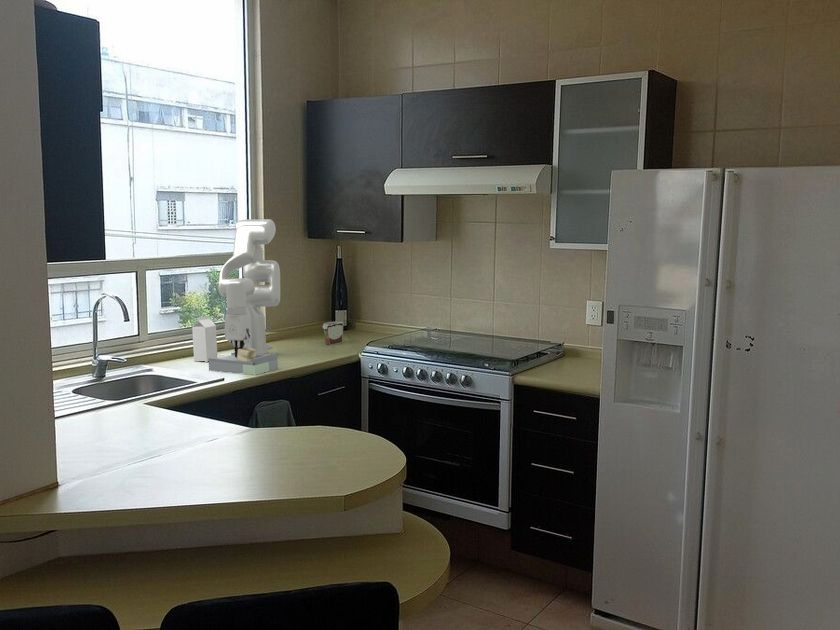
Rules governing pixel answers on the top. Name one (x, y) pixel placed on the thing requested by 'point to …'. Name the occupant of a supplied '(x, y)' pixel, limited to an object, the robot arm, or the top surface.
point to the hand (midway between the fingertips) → (239, 356)
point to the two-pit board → (244, 364)
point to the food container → (333, 332)
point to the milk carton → (204, 339)
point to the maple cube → (246, 354)
